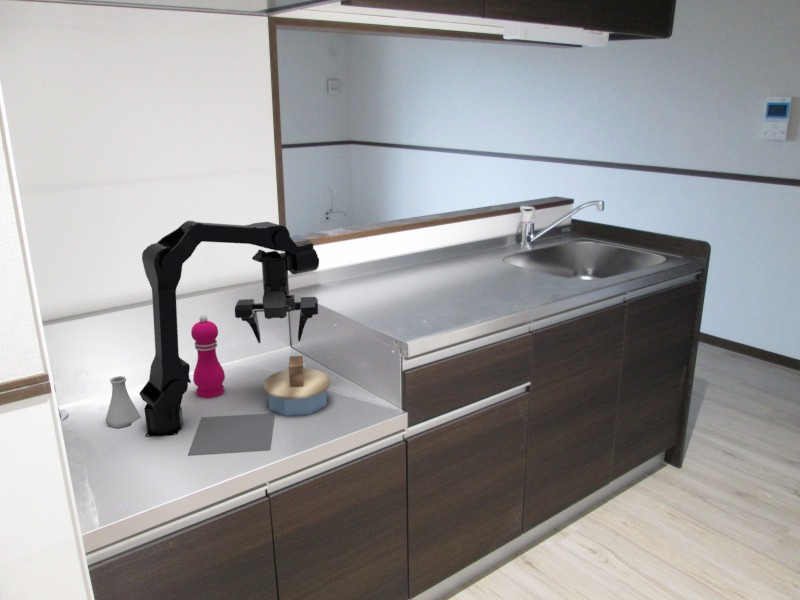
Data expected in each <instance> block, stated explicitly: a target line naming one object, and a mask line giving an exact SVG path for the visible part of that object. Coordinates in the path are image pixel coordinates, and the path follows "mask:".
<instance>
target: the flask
mask: <svg viewBox="0 0 800 600" xmlns="http://www.w3.org/2000/svg"><path fill="white" fill-rule="evenodd" d="M109 381H110V384H111V387H112V389H111V398H110V403H109V406H108V410H107V413H106V418H105V422H106V425H107V426H108V427H111V428H117V429H119V428H124V427H127V426H131V425H132V424H133V423H134V422H136V421H137V420H139V419H140V418H142V417H141V414H140V413H139V411H138V409H137V408H136V406H135V404H134V402H133V400H132V398H131V397H130V395H129V393H128V392H129V391H128V390H127V387H126V385H127V384H126V381H127V378H126V376H124V375H123V376H122V375H118V376H114V377H111V378H109Z"/></svg>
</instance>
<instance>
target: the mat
mask: <svg viewBox="0 0 800 600" xmlns="http://www.w3.org/2000/svg"><path fill="white" fill-rule="evenodd" d="M275 418H276V412H272V413H271V412H270V413H269V412H267V413H253V414H236V415H219V416H205V417H201V418H200V420H199V423H198V426H197V428H196V431H195V434H194V436H193V440H192V443H191V446H190V448H189V451H188V453H187V457H189V456H190V457H191V456H206V455H219V454H220V455H221V454H235V453H237V454H239V453H250V452H251V453H252V452H266V451H267V452H268V451H271V450H272V449H271V447H272V441H273V434H274V433H273V432H274V426H275V420H276V419H275Z"/></svg>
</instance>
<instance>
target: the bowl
mask: <svg viewBox="0 0 800 600" xmlns="http://www.w3.org/2000/svg"><path fill="white" fill-rule="evenodd" d="M267 401H268V410H270V411H273V412H274V413H277V414H280V415H283V416H285V417H287V416H290V417H291V416H305V415H312V414H313V413H316V412H317V411H319V410H321V409H323V408H325V407H327V406H328V403H327V402H328V399H327V389H326V390H325V391H324V392H322V393H320V394H318V395H315V396H312V397H308V398H301V399H283V398H277V397H274V396H271V395H269V394H268V393H267Z"/></svg>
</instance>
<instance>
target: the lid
mask: <svg viewBox="0 0 800 600" xmlns="http://www.w3.org/2000/svg"><path fill="white" fill-rule="evenodd" d="M303 356H304V355H295V356H294V355H293V356H289V361H288V369H283V370H281V371H278V372H275V373H273V374H271V375H269V376H267V377H266V378H265V379H264V381H263V389H264V390H263V391H265V393H267V395H268V394H269V395H271V396H274V397H277V398H283V399H301V398H308V397H312V396H315V395H318V394H320V393H322V392H324V391H325V390H326V391H327V390H328V389H329V387H330V385H331V379H330V376H329V375H328V373H326V372H324V371H321V370H318V369H314V368H306V367H305V368H304V357H303Z"/></svg>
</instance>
